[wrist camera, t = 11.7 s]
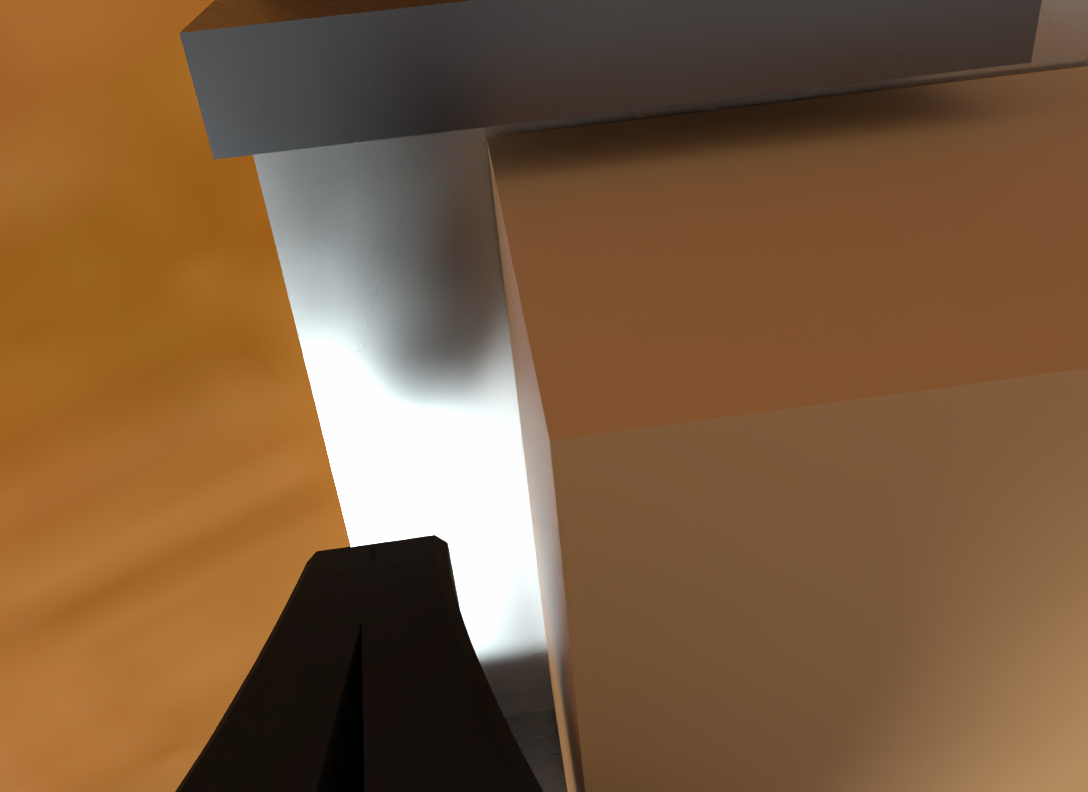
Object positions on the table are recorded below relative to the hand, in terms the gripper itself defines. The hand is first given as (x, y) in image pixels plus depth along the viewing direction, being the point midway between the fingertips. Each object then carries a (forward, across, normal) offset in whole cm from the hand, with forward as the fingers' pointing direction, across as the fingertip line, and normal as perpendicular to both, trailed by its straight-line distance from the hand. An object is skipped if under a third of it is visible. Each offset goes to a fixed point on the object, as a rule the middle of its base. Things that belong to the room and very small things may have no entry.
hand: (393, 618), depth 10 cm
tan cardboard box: (+2, -6, 0) cm, 6 cm away
